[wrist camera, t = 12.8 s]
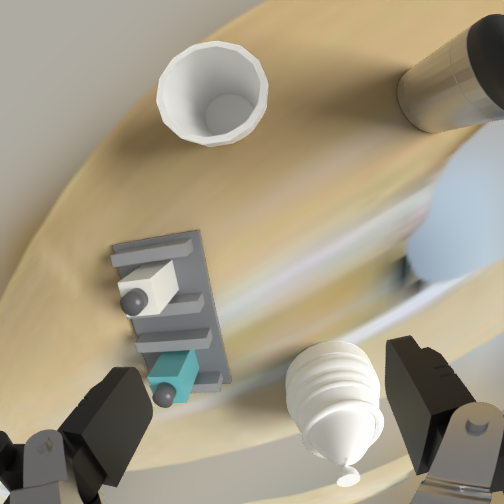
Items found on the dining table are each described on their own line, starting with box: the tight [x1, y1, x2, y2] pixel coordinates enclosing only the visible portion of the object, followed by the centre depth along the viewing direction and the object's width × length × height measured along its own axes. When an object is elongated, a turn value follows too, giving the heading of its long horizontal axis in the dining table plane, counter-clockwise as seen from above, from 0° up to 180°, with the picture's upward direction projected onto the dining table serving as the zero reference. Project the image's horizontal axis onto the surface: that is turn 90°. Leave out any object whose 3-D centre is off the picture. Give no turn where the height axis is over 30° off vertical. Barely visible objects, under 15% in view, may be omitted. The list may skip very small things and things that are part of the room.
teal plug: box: [147, 350, 199, 408], centre depth 38 cm, size 4×4×10 cm
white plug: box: [118, 260, 179, 317], centre depth 36 cm, size 4×4×10 cm
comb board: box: [110, 230, 232, 393], centre depth 41 cm, size 12×22×4 cm, turn 9°
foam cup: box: [156, 40, 268, 147], centre depth 30 cm, size 10×9×13 cm
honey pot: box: [285, 341, 384, 487], centre depth 35 cm, size 13×13×18 cm
